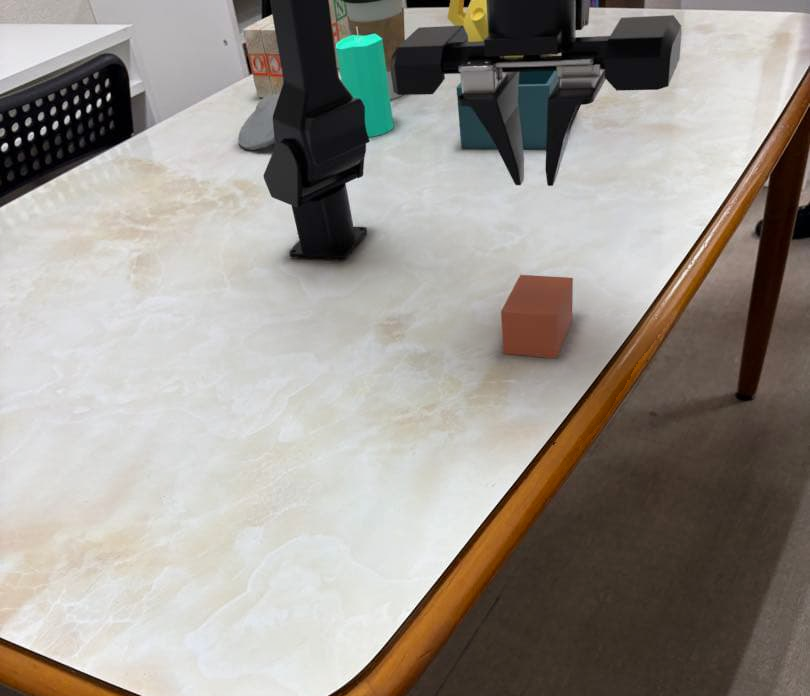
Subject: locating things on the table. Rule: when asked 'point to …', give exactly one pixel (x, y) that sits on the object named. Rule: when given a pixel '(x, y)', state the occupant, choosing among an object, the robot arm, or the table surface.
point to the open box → (531, 113)
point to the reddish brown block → (537, 316)
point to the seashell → (259, 125)
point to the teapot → (471, 19)
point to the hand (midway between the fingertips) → (535, 183)
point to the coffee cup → (379, 26)
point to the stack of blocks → (267, 54)
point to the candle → (367, 79)
